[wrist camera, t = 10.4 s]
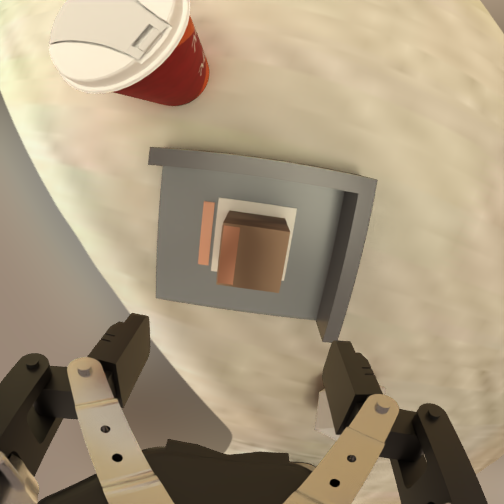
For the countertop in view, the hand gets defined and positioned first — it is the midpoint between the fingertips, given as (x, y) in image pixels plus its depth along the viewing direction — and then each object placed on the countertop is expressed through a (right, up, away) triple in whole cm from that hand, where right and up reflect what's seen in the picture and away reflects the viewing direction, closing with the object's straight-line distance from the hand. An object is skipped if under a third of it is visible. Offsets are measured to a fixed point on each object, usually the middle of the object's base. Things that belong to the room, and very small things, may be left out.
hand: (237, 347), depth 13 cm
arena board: (+1, +5, +16) cm, 17 cm away
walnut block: (+1, +5, +15) cm, 16 cm away
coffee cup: (-6, +20, +12) cm, 24 cm away
